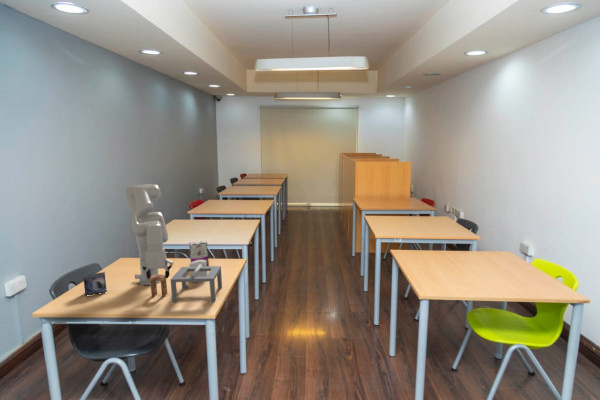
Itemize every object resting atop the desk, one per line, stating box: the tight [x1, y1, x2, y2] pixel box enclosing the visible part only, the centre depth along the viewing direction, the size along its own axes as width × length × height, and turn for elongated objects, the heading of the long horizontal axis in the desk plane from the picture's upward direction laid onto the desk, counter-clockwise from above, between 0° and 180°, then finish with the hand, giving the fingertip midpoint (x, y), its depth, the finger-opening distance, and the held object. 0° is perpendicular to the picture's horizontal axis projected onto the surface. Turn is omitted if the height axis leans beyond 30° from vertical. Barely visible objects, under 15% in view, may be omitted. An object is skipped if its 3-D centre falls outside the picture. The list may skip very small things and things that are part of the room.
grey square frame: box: [170, 264, 223, 303], centre depth 206 cm, size 22×19×14 cm
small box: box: [83, 271, 108, 297], centre depth 211 cm, size 11×6×10 cm, turn 117°
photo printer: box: [189, 260, 208, 277], centre depth 227 cm, size 10×4×12 cm, turn 123°
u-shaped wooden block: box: [150, 274, 168, 298], centre depth 206 cm, size 7×4×11 cm, turn 90°
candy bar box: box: [188, 240, 210, 266], centre depth 251 cm, size 11×5×16 cm, turn 113°
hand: (158, 277), depth 205 cm, fingers open, 9 cm apart
